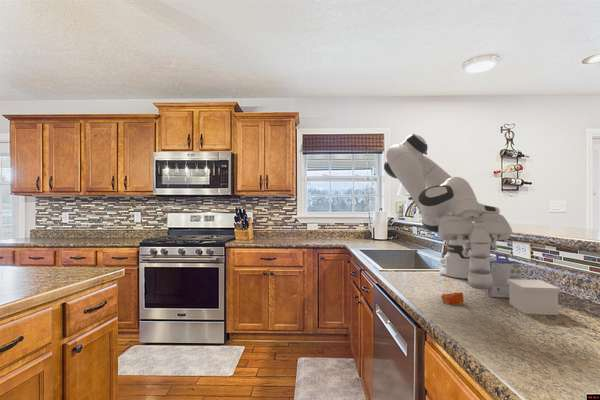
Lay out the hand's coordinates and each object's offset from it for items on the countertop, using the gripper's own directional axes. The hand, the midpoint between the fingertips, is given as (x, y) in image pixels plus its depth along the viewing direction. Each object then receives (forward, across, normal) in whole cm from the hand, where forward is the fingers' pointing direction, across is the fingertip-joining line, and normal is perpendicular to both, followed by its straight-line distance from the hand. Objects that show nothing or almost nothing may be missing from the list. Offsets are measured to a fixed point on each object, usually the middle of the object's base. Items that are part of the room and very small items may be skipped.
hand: (480, 249), depth 92 cm
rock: (+6, -5, +23) cm, 24 cm away
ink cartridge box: (-1, +15, +29) cm, 33 cm away
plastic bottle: (+8, 0, +9) cm, 12 cm away
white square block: (+9, +17, +19) cm, 27 cm away
